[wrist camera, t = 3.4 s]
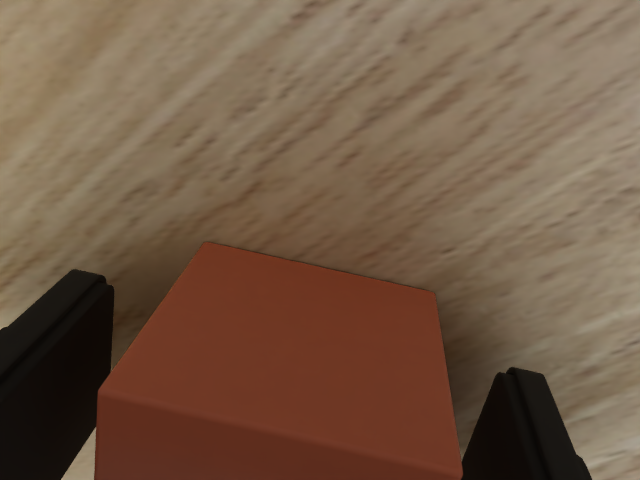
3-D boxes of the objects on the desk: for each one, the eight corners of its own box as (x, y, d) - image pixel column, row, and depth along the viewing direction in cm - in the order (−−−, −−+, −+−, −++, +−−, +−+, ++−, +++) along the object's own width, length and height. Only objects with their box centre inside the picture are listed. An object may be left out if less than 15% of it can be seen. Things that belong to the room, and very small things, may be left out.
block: (203, 238, 11) (94, 390, 7) (436, 291, 11) (466, 475, 7) (182, 419, 13) (85, 624, 9) (380, 465, 12) (377, 693, 8)
